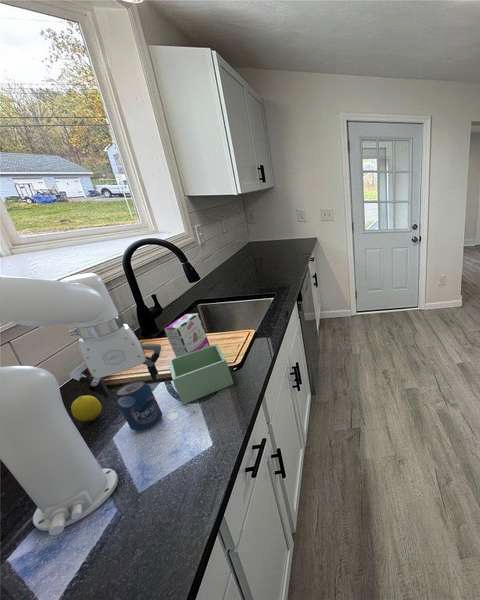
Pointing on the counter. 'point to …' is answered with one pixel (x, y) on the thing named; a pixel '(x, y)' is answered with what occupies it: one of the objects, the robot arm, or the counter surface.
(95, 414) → the lemon
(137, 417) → the soda can
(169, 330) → the candy bar box
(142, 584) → the counter surface
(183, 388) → the bin
